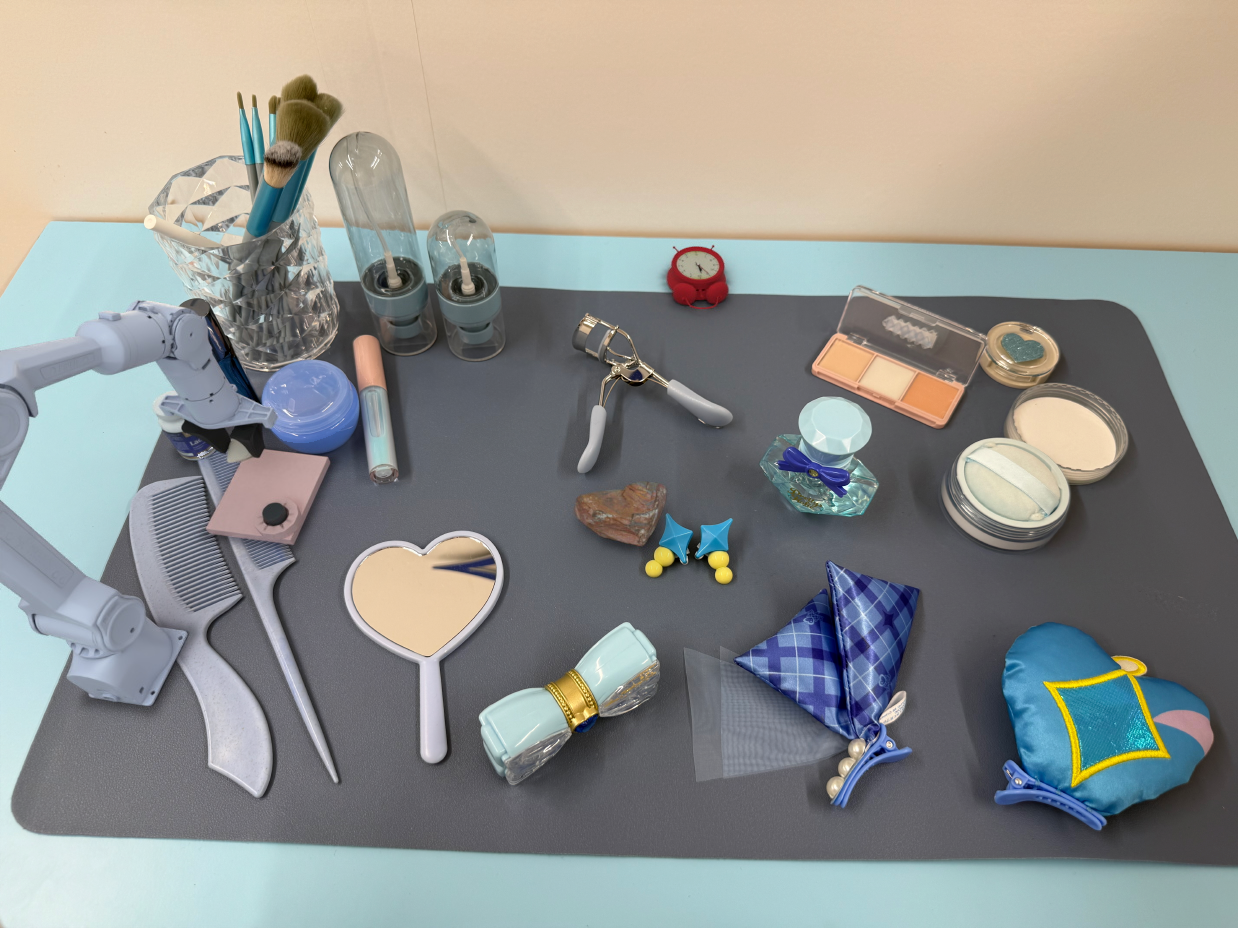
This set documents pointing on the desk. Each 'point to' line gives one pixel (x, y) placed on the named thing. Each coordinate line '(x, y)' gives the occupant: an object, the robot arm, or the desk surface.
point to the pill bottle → (180, 433)
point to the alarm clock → (697, 276)
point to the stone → (623, 511)
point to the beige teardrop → (237, 452)
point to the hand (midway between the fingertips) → (243, 450)
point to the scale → (269, 496)
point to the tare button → (274, 514)
